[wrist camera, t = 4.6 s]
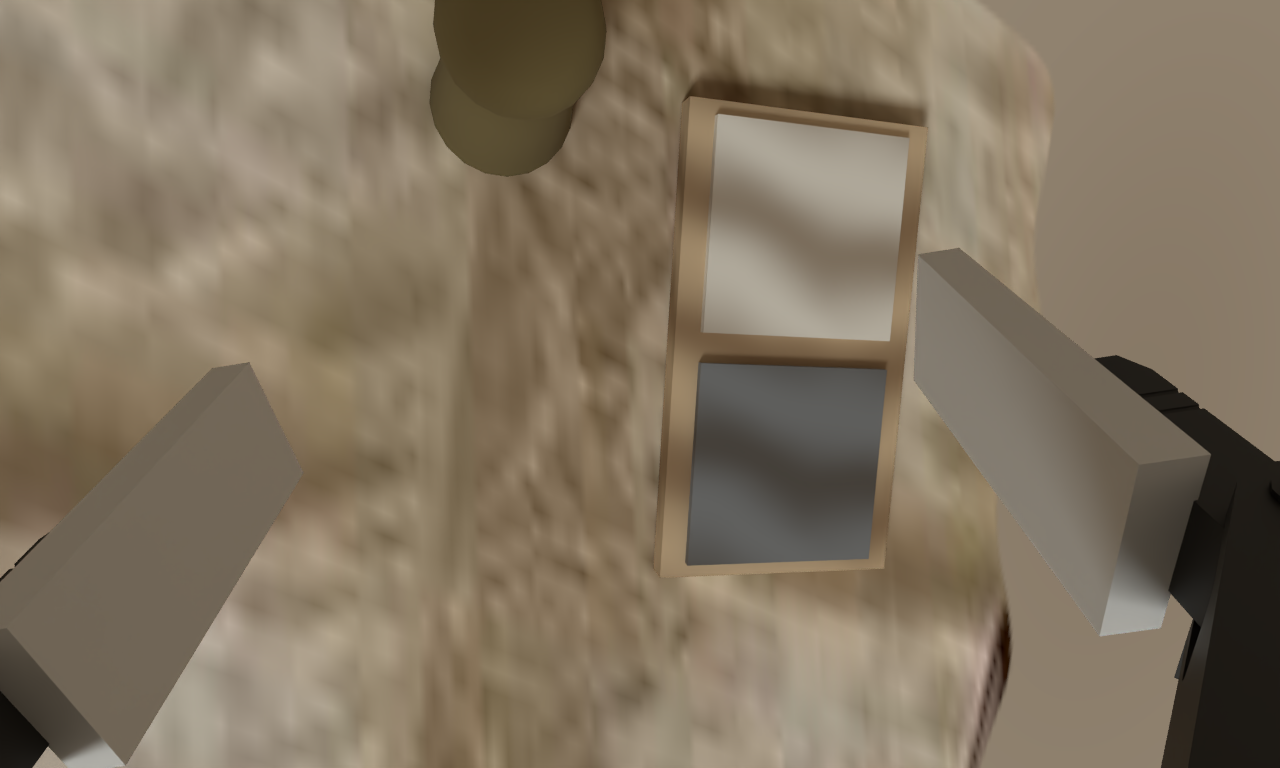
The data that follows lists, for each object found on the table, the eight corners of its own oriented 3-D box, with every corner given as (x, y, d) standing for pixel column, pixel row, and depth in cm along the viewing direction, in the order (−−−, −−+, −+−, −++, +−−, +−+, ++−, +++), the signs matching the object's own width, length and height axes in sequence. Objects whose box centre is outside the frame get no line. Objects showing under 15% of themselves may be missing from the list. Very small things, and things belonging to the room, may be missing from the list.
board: (682, 102, 33) (693, 93, 31) (912, 132, 36) (933, 125, 34) (653, 568, 36) (662, 581, 34) (871, 560, 39) (888, 571, 37)
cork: (462, 195, 31) (466, 148, 21) (406, 53, 30) (379, -76, 19) (592, 151, 32) (658, 84, 22) (542, 12, 31) (587, -131, 21)
